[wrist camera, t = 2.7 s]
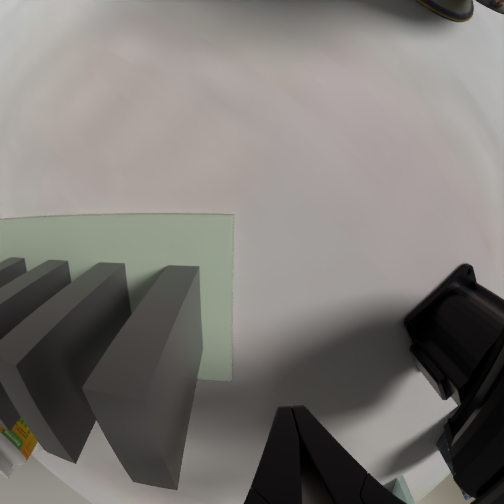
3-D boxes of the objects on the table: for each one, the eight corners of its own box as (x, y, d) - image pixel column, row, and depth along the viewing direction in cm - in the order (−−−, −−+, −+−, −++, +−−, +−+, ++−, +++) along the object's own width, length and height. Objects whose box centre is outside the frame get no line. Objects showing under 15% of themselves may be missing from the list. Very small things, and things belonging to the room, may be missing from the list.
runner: (234, 214, 13) (233, 215, 13) (232, 376, 16) (231, 381, 16) (-62, 225, 12) (-65, 226, 12) (-41, 317, 15) (-44, 319, 15)
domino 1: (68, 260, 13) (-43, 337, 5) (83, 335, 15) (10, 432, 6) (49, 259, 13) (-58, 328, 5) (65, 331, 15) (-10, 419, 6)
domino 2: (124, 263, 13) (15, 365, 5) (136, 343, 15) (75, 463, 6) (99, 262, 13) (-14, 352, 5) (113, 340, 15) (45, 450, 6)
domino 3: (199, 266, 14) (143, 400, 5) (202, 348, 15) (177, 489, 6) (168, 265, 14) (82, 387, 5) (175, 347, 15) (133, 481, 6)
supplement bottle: (52, 408, 18) (11, 477, 8) (49, 428, 19) (17, 488, 10) (11, 376, 17) (-36, 434, 7) (13, 400, 18) (-25, 453, 9)
